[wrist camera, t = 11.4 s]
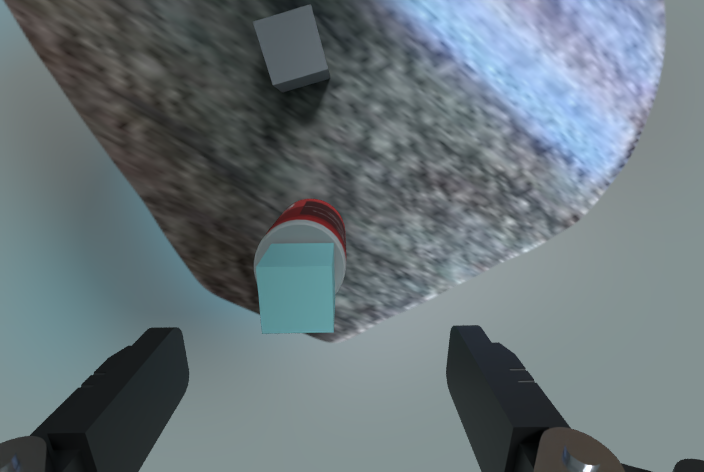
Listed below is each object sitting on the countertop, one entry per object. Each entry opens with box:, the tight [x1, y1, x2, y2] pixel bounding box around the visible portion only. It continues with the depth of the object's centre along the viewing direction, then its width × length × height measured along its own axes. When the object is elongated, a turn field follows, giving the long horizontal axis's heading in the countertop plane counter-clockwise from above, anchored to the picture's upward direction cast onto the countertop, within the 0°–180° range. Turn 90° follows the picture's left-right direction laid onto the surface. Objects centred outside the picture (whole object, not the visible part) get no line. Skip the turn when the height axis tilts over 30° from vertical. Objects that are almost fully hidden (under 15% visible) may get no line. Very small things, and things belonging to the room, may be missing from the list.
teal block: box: [256, 243, 335, 334], centre depth 25 cm, size 5×5×5 cm
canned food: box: [254, 199, 346, 294], centre depth 33 cm, size 8×8×11 cm
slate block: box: [253, 4, 330, 93], centre depth 31 cm, size 5×5×5 cm
